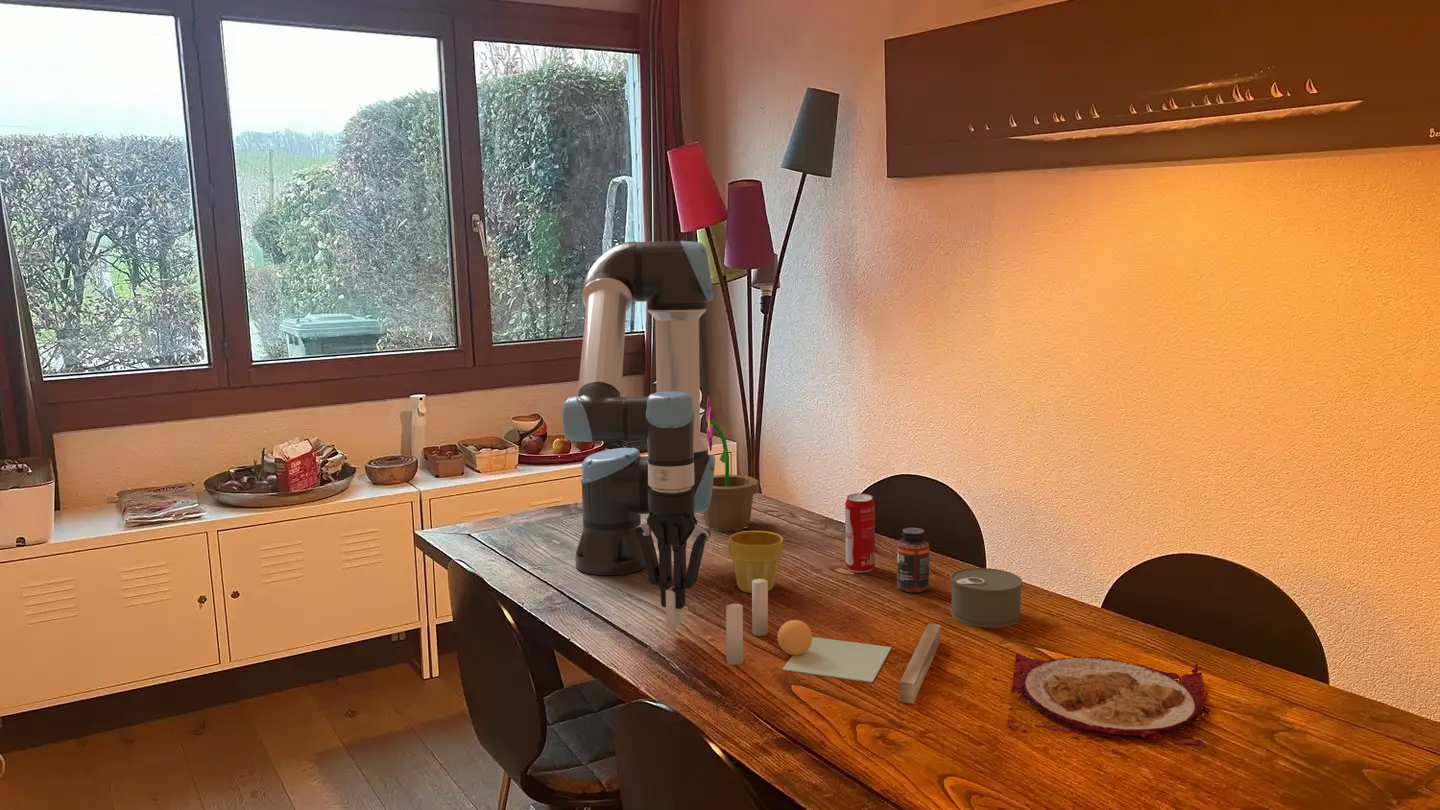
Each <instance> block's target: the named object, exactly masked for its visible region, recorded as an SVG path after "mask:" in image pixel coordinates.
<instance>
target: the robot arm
mask: <svg viewBox="0 0 1440 810" xmlns="http://www.w3.org/2000/svg"><path fill="white" fill-rule="evenodd" d="M709 263H710V262H709V258H708V250H707V247H706V246H705V244H703V243H702V242H699V241H690V240H689V241H688V240H683V239H682V240H674V241H672V240H671V241H665V240H664V241H627V242H621V243H620V244H617V245H615V246H613V247H611V248H610V249H608V250H606V251H605V252H604V253H602V255H601V256H600V257H598V259H596V261H595V262H594V263H593V265H592V266H591V267H590V269H589V270H588V272H587V273H586V276H585V278H584V281H583V285H582V290H581V291H582V293H581V300H582V303H583V306H584V307H585V313H584V314H585V315H584V327H583V336H582V345H581V354H580V355H581V357H580V367H579V374H578V375H579V376H578V386H577V395H576V396H572V397H567V398H565V400H564V401H563V404H562V416H561V417H562V430H563V434H564V437H565V438H566V439H567V440H568V441H572V442H586V443H587V442H588V443H592V442H613V441H614V442H615V441H617V442H618V441H619V442H620V441H621V442H622V441H628V442H635V441H637V442H638V441H639V442H640V441H641V442H646V441H647V456H643V455H642V456H641V453H640V451H639V450H640V449H638V448H636V447H620V448H619V447H618V448H611V449H606V450H601V451H598V452H595V453H592V454H590V455H588V456H586V458H584V460H583V461H582V463H581V478H580V483H581V497H582V498H581V499H582V530H581V534H580V538H579V541H578V545H577V548H576V552H575V556H574V557H575V568H576V569H577V570H579V571H580V572H582V573H583V572H584V573H585V574H590V575H597V576H617V575H618V576H619V575H628V574H632V573H636V572H639V571H642V570H645V569H646V572H647V576H648V581H649V584H650V585H656V586H657V587H659V589H660V605H661V607H662V608H665V620H666V621H665V622H666V623H665V625H666V629H668V630H676V629H677V628H678V627H679V626H680V625H682V612H681V611H682V610H683V608H685V607H686V603H687V602H686V599H687V598H686V589H687V590H688V589H690V588H692V587H693V586H694V585H695V584H696V583H697V580H698V576H699V571H700V567H701V564H702V558H703V555H704V551H705V550H704V549H705V546H706V543H707V542H708V540H709V538H710V537H711V535H712V534H711V533H712V532H711V530H710V529H709V530H708V529H705V530H704V529H703V528H702V527H700V526H699V525H698V521H697V518H696V516H695V514H699V513H700V514H701V513H704V512H705V511H706V510H707V509H708V508H709V506H710V501H711V495H712V487H713V478H714V475H715V465H716V456H715V455H713V454H710V453H709V445H707V444H706V443H705V442H704V441H703V440H702V439H701V396H700V395H701V393H700V391H701V390H700V388H701V386H700V382H701V381H700V380H701V379H700V318H702V317H701V316H703V315H704V314H705V312H706V311H707V302H708V303H709V302H711V301H713V300H714V292H713V283H712V279H711V278H712V277H711V269H710V264H709ZM633 302H637V303H638V302H645V303H646V302H647V303H646V304H647V307H646V308H647V312H648V314H650V315H651V316H652V317H653V318H654V320H655V321H654V323H655V325H654V326H655V327H654V328H655V369H656V370H655V371H656V373H655V375H656V376H655V377H656V381H655V382H656V384H655V385H656V392H654V393H651V394H649V395H648V396H622V386H623V371H624V355H625V341H626V340H625V338H626V337H625V336H626V322H627V311H628V310H629V309H630V308H631V306H632V303H633ZM641 515H648V516H647V517H646V522H645V523H641V520H642V519H641V517H642V516H641ZM652 533H653V535H654V536H655V538H656V540H657V550H658V555H657V552H656V547H655V546H656V545H655V543H654V538H653V536H652ZM692 534H693V537H692V539H693V541H694V542H693V544H692V548H691V552H690V557H689V561H688V564H687V545H688V539H689V538H690V537H691V535H692ZM672 555H673V562H672ZM672 563H673V564H672ZM687 565H688V566H687ZM672 566H673V567H672ZM672 568H673V569H672ZM672 571H673V572H672ZM672 584H673V585H672Z"/></svg>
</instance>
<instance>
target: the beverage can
mask: <svg viewBox="0 0 1440 810" xmlns="http://www.w3.org/2000/svg"><path fill="white" fill-rule="evenodd" d="M875 505H876V504H875V500H874V496H873V495H871V494H869V493H861V492H860V493H851V494H849V495H847V496H846V500H845V505H844V506H845V507H844V508H845V513H844V515H845V516H844V517H845V524H844V525H845V567H846V568H847V570H848V571H849V572H853V573H862V574H863V573H870V572H871V571H873V570H874V569H875V566H876V562H875V561H876V553H875V552H876V549H875V547H876V540H875V538H876V532H875V531H876V530H875V529H876V521H875V520H876V514H875V513H876V509H875Z"/></svg>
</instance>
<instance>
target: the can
mask: <svg viewBox="0 0 1440 810" xmlns="http://www.w3.org/2000/svg"><path fill="white" fill-rule="evenodd" d="M950 581H951V611H950V612H951V613H950V614H951V617H952V618H953V619H954V620H955V619H956V620H955V621H957V622H959V623H961V624H963V623H964V624H963V625H966V624H967V625H966V626H970V627H974V626H977V627H976V628H980V627H990V628H989V629H995V628H994V627H1004V626H1009V625H1013V624H1015V623H1017V622H1018V621H1019V619H1020V620H1021V615H1020V614H1021V600H1022V587H1023V579H1022V578H1021V577H1020V576H1019V575H1017V574H1016V573H1015V574H1014V573H1012V572H1011V571H1010V572H1009V571H1006V570H1002V569H995V568H988V567H972V568H971V567H969V568H965V569H960V570H957V571H954V572H953V573H952V574H951V575H950ZM1019 622H1020V621H1019ZM1019 622H1018V623H1019ZM1018 623H1017V624H1018ZM1015 625H1016V624H1015ZM1013 626H1014V625H1013ZM991 627H992V628H991Z"/></svg>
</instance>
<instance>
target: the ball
mask: <svg viewBox="0 0 1440 810" xmlns="http://www.w3.org/2000/svg"><path fill="white" fill-rule="evenodd" d="M812 637H813V633H812V630H811V629H810V626H808V624H806V623H805V622H804V621H801V620H800V619H792V620H788V621H786V622H784V623H783V624H782V625H781V626H780V628H779V630H778V633H777V643H778V645H779V647H780V649H781V650H782V651H783V652H784V653H786V654H787V655H790V656H793V655H801V654H803V653H805V652H806V651H807V650H808V649H809V648H810V646H811V644H812Z"/></svg>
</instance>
